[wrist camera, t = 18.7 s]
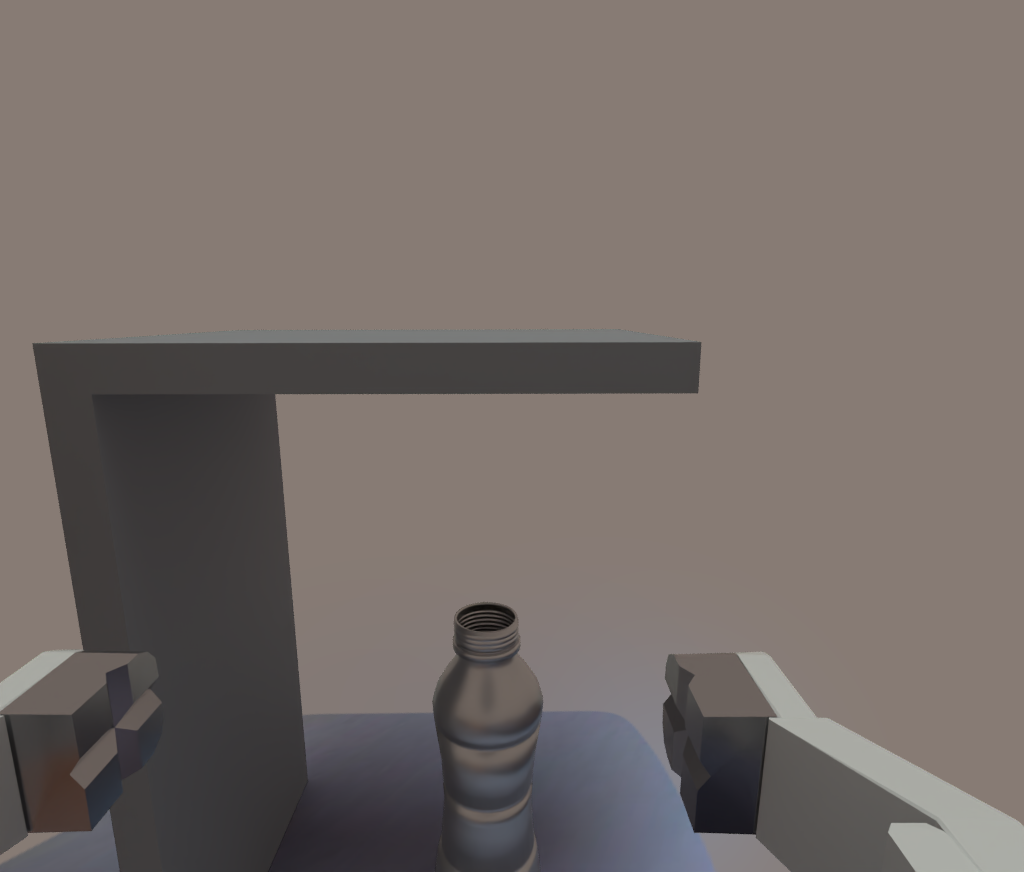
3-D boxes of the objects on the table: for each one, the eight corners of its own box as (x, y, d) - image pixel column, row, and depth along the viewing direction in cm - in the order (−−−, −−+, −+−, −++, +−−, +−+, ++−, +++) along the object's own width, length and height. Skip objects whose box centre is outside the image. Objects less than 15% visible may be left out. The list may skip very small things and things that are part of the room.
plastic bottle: (458, 845, 42) (452, 584, 38) (550, 870, 40) (555, 599, 36) (418, 934, 36) (406, 636, 32) (526, 968, 34) (527, 656, 30)
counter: (150, 1052, 30) (32, 343, 23) (283, 780, 48) (240, 330, 41) (656, 1051, 30) (701, 342, 23) (603, 780, 48) (618, 329, 41)
